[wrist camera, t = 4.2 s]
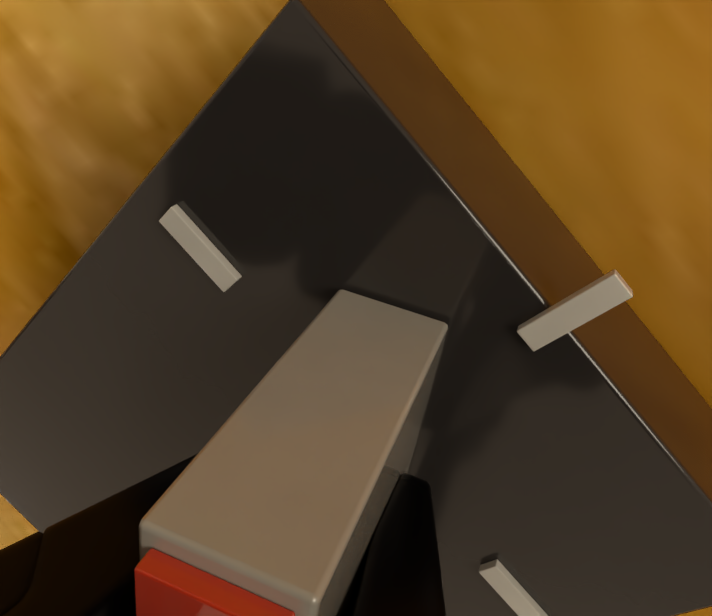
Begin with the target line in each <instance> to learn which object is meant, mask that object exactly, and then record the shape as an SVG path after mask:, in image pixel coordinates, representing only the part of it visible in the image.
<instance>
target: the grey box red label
mask: <svg viewBox="0 0 712 616" xmlns="http://www.w3.org/2000/svg"><path fill="white" fill-rule="evenodd" d="M447 331H448V325H447V323H445V322H443V321H439V320H436V319H433V318H430V317H427V316H424V315H421V314H418V313H415V312H412V311H409V310H405V309H402V308H399V307H396V306H393V305H390V304H387V303H384V302H381V301H378V300H375V299H371V298H368V297H365V296H362V295H359V294H356V293H353V292H350V291H347V290H344V289H340V290H338V292H337V293H336V294H335V295H334V296H333V297H332V298H331V300H330V301H329V302H328V303H327V304H326V305H325V307H324V308H323V309H322V310H321V311H320V312H319V314H318V315H317V316H316V317H315V318H314V319H313V321H312V322H311V323H310V324H309V325H308V326H307V327H306V329H305V330H304V331H303V332H302V333H301V334H300V336H299V337H298V338H297V339H296V340H295V341H294V343H293V344H292V345H291V346H290V347H289V348H288V350H287V351H286V352H285V353H284V354H283V355H282V357H281V358H280V359H279V360H278V361H277V362H276V363H275V365H274V366H273V367H272V368H271V369H270V370H269V372H268V373H267V374H266V375H265V376H264V377H263V379H262V380H261V381H260V382H259V383H258V384H257V386H256V387H255V388H254V389H253V390H252V391H251V393H250V394H249V395H248V396H247V397H246V398H245V399H244V401H243V402H242V403H241V404H240V405H239V406H238V408H237V409H236V410H235V411H234V412H233V413H232V415H231V416H230V417H229V418H228V419H227V420H226V422H225V423H224V424H223V425H222V426H221V427H220V428H219V430H218V431H217V432H216V433H215V434H214V435H213V437H212V438H211V439H210V440H209V441H208V442H207V444H206V445H205V446H204V447H203V448H202V449H201V451H200V452H199V453H198V454H197V455H196V456H195V458H194V459H193V460H192V461H191V462H190V463H189V464H188V466H187V467H186V468H185V469H184V470H183V471H182V473H181V474H180V475H179V476H178V477H177V478H176V480H175V481H174V482H173V483H172V484H171V485H170V487H169V488H168V489H167V490H166V491H165V492H164V494H163V495H162V496H161V497H160V498H159V499H158V500H157V502H156V503H155V504H154V505H153V506H152V507H151V509H150V510H149V511H148V512H147V513H146V514H145V516H144V517H143V518H142V519H141V521H140V524H139V554H140V562H139V563H138V564H137V566H136V567H135V569H134V584H135V608H136V616H350V613H351V610H352V607H353V603H354V600H355V596H356V593H357V589H358V586H359V582H360V579H361V575H362V572H363V568H364V565H365V562H366V558H367V555H368V551H369V548H370V544H371V541H372V538H373V535H374V533H375V530H376V528H377V525H378V523H379V521H380V519H381V517H382V514H383V512H384V510H385V508H386V506H387V504H388V501H389V499H390V497H391V495H392V493H393V490H394V488H395V486H396V484H397V482H398V479H399V477H400V476H401V475H402V474H403V473H408V470H409V467H410V463H411V460H412V456H413V453H414V449H415V445H416V442H417V438H418V435H419V431H420V428H421V424H422V420H423V417H424V413H425V410H426V406H427V402H428V399H429V395H430V392H431V388H432V385H433V381H434V377H435V374H436V370H437V367H438V363H439V360H440V356H441V352H442V349H443V345H444V342H445V338H446V335H447Z"/></svg>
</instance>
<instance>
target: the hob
mask: <svg viewBox="0 0 712 616" xmlns="http://www.w3.org/2000/svg"><path fill="white" fill-rule="evenodd" d="M340 289H344V290H347V291H350V292H353V293H356V294H359V295H362V296H365V297H368V298H371V299H375V300H378V301H381V302H384V303H387V304H390V305H393V306H396V307H399V308H402V309H405V310H409V311H412V312H415V313H418V314H421V315H424V316H427V317H430V318H433V319H436V320H439V321H443V322H445V323H447V325H448V331H447V335H446V338H445V342H444V345H443V349H442V352H441V356H440V360H439V363H438V367H437V370H436V374H435V377H434V381H433V385H432V388H431V392H430V395H429V399H428V402H427V406H426V410H425V413H424V417H423V420H422V424H421V428H420V431H419V435H418V438H417V442H416V445H415V449H414V453H413V456H412V460H411V463H410V467H409V470H408V474H410V475H413V476H415V477H418V478H420V479H423V480H425V481H427V482H428V483H429V484H430V487H431V493H432V501H433V509H434V517H435V526H436V534H437V542H438V550H439V559H440V567H441V575H442V583H443V591H444V600H445V608H446V616H675V615H679V614H684V613H688V612H692V611H696V610H700V609H704V608H708V607H712V409H711V407H710V406H709V405H708V404H707V402H706V401H705V400H704V399H703V397H702V396H701V395H700V394H699V392H698V391H697V390H696V389H695V387H694V386H693V385H692V384H691V382H690V381H689V380H688V379H687V377H686V376H685V375H684V374H683V372H682V371H681V370H680V369H679V367H678V366H677V365H676V364H675V362H674V361H673V360H672V359H671V357H670V356H669V355H668V354H667V352H666V351H665V350H664V349H663V348H662V346H661V345H660V344H659V343H658V341H657V340H656V339H655V338H654V336H653V335H652V334H651V333H650V331H649V330H648V329H647V328H646V326H645V325H644V324H643V323H642V321H641V320H640V319H639V318H638V316H637V315H636V314H635V313H634V311H633V310H632V309H631V308H630V306H629V305H628V304H627V303H626V300H628V299H630V298H631V297H633V291H632V289H631V288H630V287H629V286H628V284H627V283H626V282H625V281H624V279H623V278H622V277H621V275H620V274H619V273H618V272H617V270H615V269H614V270H612V271H610V272H609V273H607V274H605V275H604V274H603V273H602V271H601V270H600V269H599V268H598V266H597V265H596V264H595V263H594V261H593V260H592V259H591V258H590V256H589V255H588V254H587V253H586V251H585V250H584V249H583V248H582V247H581V245H580V244H579V243H578V242H577V240H576V239H575V238H574V237H573V235H572V234H571V233H570V232H569V230H568V229H567V228H566V227H565V225H564V224H563V223H562V222H561V220H560V219H559V218H558V217H557V215H556V214H555V213H554V212H553V210H552V209H551V208H550V207H549V205H548V204H547V203H546V202H545V200H544V199H543V198H542V197H541V195H540V194H539V193H538V192H537V190H536V189H535V188H534V187H533V185H532V184H531V183H530V182H529V180H528V179H527V178H526V177H525V175H524V174H523V173H522V172H521V170H520V169H519V168H518V167H517V165H516V164H515V163H514V162H513V160H512V159H511V158H510V157H509V155H508V154H507V153H506V152H505V150H504V149H503V148H502V147H501V145H500V144H499V143H498V142H497V141H496V139H495V138H494V137H493V136H492V134H491V133H490V132H489V131H488V129H487V128H486V127H485V126H484V124H483V123H482V122H481V121H480V119H479V118H478V117H477V116H476V114H475V113H474V112H473V111H472V109H471V108H470V107H469V106H468V104H467V103H466V102H465V101H464V99H463V98H462V97H461V96H460V94H459V93H458V92H457V91H456V89H455V88H454V87H453V86H452V84H451V83H450V82H449V81H448V79H447V78H446V77H445V76H444V74H443V73H442V72H441V71H440V69H439V68H438V67H437V66H436V64H435V63H434V62H433V61H432V59H431V58H430V57H429V56H428V54H427V53H426V52H425V51H424V49H423V48H422V47H421V46H420V44H419V43H418V42H417V41H416V40H415V38H414V37H413V36H412V35H411V33H410V32H409V31H408V30H407V28H406V27H405V26H404V25H403V23H402V22H401V21H400V20H399V18H398V17H397V16H396V15H395V13H394V12H393V11H392V10H391V8H390V7H389V6H388V5H387V3H386V2H385V1H384V0H289V1H288V2H287V3H286V4H285V6H284V7H283V8H282V9H281V10H280V12H279V13H278V14H277V15H276V17H275V18H274V19H273V20H272V22H271V23H270V24H269V25H268V27H267V28H266V29H265V30H264V31H263V33H262V34H261V35H260V36H259V38H258V39H257V40H256V41H255V43H254V44H253V45H252V46H251V48H250V49H249V50H248V51H247V52H246V54H245V55H244V56H243V57H242V59H241V60H240V61H239V62H238V64H237V65H236V66H235V67H234V69H233V70H232V71H231V72H230V73H229V75H228V76H227V77H226V78H225V80H224V81H223V82H222V83H221V85H220V86H219V87H218V88H217V89H216V91H215V92H214V93H213V94H212V96H211V97H210V98H209V99H208V101H207V102H206V103H205V104H204V106H203V107H202V108H201V109H200V110H199V112H198V113H197V114H196V115H195V117H194V118H193V119H192V120H191V122H190V123H189V124H188V125H187V127H186V128H185V129H184V130H183V131H182V133H181V134H180V135H179V136H178V138H177V139H176V140H175V141H174V143H173V144H172V145H171V146H170V148H169V149H168V150H167V151H166V152H165V154H164V155H163V156H162V157H161V159H160V160H159V161H158V162H157V164H156V165H155V166H154V167H153V169H152V170H151V171H150V172H149V173H148V175H147V176H146V177H145V178H144V180H143V181H142V182H141V183H140V185H139V186H138V187H137V188H136V189H135V191H134V192H133V193H132V194H131V196H130V197H129V198H128V199H127V201H126V202H125V203H124V204H123V206H122V207H121V208H120V209H119V210H118V212H117V213H116V214H115V215H114V217H113V218H112V219H111V220H110V222H109V223H108V224H107V225H106V227H105V228H104V229H103V230H102V231H101V233H100V234H99V235H98V236H97V238H96V239H95V240H94V241H93V243H92V244H91V245H90V246H89V248H88V249H87V250H86V251H85V252H84V254H83V255H82V256H81V257H80V259H79V260H78V261H77V262H76V264H75V265H74V266H73V267H72V269H71V270H70V271H69V272H68V273H67V275H66V276H65V277H64V278H63V280H62V281H61V282H60V283H59V285H58V286H57V287H56V288H55V289H54V291H53V292H52V293H51V294H50V296H49V297H48V298H47V299H46V301H45V302H44V303H43V304H42V306H41V307H40V308H39V309H38V310H37V312H36V313H35V314H34V315H33V317H32V318H31V319H30V320H29V322H28V323H27V324H26V325H25V327H24V328H23V329H22V330H21V331H20V333H19V334H18V335H17V336H16V338H15V339H14V340H13V341H12V343H11V344H10V345H9V346H8V348H7V349H6V350H5V351H4V352H3V354H2V355H1V356H0V494H1V495H2V496H3V497H4V498H5V499H6V500H7V501H8V502H9V503H10V504H11V505H12V506H14V507H15V508H16V509H17V510H18V511H19V512H20V513H21V514H22V515H23V516H24V517H25V518H26V519H27V520H28V521H29V522H30V523H31V524H32V525H33V526H34V527H35V528H36V529H37V530H38V531H40V532H42V533H43V534H44V530H45V529H46V528H47V527H49V526H51V525H53V524H55V523H57V522H59V521H61V520H63V519H65V518H67V517H70V516H72V515H74V514H76V513H78V512H80V511H82V510H84V509H86V508H88V507H90V506H92V505H94V504H96V503H98V502H100V501H102V500H104V499H106V498H108V497H110V496H112V495H114V494H116V493H118V492H120V491H122V490H124V489H126V488H128V487H130V486H132V485H135V484H137V483H139V482H141V481H143V480H145V479H147V478H149V477H151V476H153V475H155V474H157V473H159V472H161V471H163V470H165V469H167V468H169V467H171V466H173V465H175V464H177V463H179V462H181V461H183V460H185V459H187V458H189V457H191V456H193V455H195V454H197V453H199V452H200V451H201V449H202V448H203V447H204V446H205V445H206V444H207V442H208V441H209V440H210V439H211V438H212V437H213V435H214V434H215V433H216V432H217V431H218V430H219V428H220V427H221V426H222V425H223V424H224V423H225V422H226V420H227V419H228V418H229V417H230V416H231V415H232V413H233V412H234V411H235V410H236V409H237V408H238V406H239V405H240V404H241V403H242V402H243V401H244V399H245V398H246V397H247V396H248V395H249V394H250V393H251V391H252V390H253V389H254V388H255V387H256V386H257V384H258V383H259V382H260V381H261V380H262V379H263V377H264V376H265V375H266V374H267V373H268V372H269V370H270V369H271V368H272V367H273V366H274V365H275V363H276V362H277V361H278V360H279V359H280V358H281V357H282V355H283V354H284V353H285V352H286V351H287V350H288V348H289V347H290V346H291V345H292V344H293V343H294V341H295V340H296V339H297V338H298V337H299V336H300V334H301V333H302V332H303V331H304V330H305V329H306V327H307V326H308V325H309V324H310V323H311V322H312V321H313V319H314V318H315V317H316V316H317V315H318V314H319V312H320V311H321V310H322V309H323V308H324V307H325V305H326V304H327V303H328V302H329V301H330V300H331V298H332V297H333V296H334V295H335V294H336V293H337V292H338V290H340Z"/></svg>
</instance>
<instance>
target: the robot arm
mask: <svg viewBox="0 0 712 616" xmlns="http://www.w3.org/2000/svg"><path fill="white" fill-rule="evenodd" d="M197 454H198V453H197ZM197 454H195V455H193V456H191V457H189V458H187V459H185V460H183V461H181V462H179V463H177V464H175V465H173V466H171V467H169V468H167V469H165V470H163V471H161V472H159V473H157V474H155V475H153V476H151V477H149V478H147V479H145V480H143V481H141V482H139V483H137V484H135V485H132V486H130V487H128V488H126V489H124V490H122V491H120V492H118V493H116V494H114V495H112V496H110V497H108V498H106V499H104V500H102V501H100V502H98V503H96V504H94V505H92V506H90V507H88V508H86V509H84V510H82V511H80V512H78V513H76V514H74V515H72V516H70V517H67V518H65V519H63V520H61V521H59V522H57V523H55V524H53V525H51V526H49V527H47V528H46V529H45V530H44V534H43V533H42V532H40V531H39V532H36V533H34V534H32V535H30V536H28V537H26V538H24V539H22V540H20V541H18V542H16V543H14V544H12V545H10V546H8V547H6V548H4V549H1V550H0V616H136V608H135V584H134V569H135V567H136V566H137V564H138V563H139V562H140V554H139V524H140V521H141V519H142V518H143V517H144V516H145V514H146V513H147V512H148V511H149V510H150V509H151V507H152V506H153V505H154V504H155V503H156V502H157V500H158V499H159V498H160V497H161V496H162V495H163V494H164V492H165V491H166V490H167V489H168V488H169V487H170V485H171V484H172V483H173V482H174V481H175V480H176V478H177V477H178V476H179V475H180V474H181V473H182V471H183V470H184V469H185V468H186V467H187V466H188V464H189V463H190V462H191V461H192V460H193V459H194V458H195V456H196V455H197ZM350 616H446V608H445V600H444V591H443V583H442V575H441V567H440V559H439V550H438V542H437V534H436V526H435V517H434V509H433V501H432V493H431V487H430V484H429V483H428V482H427V481H425V480H423V479H420V478H418V477H415V476H413V475H410V474H408V473H403V474H402V475H401V476H400V477H399V479H398V482H397V484H396V486H395V488H394V490H393V493H392V495H391V497H390V499H389V501H388V504H387V506H386V508H385V510H384V512H383V514H382V517H381V519H380V521H379V523H378V525H377V528H376V530H375V533H374V535H373V538H372V541H371V544H370V548H369V551H368V555H367V558H366V562H365V565H364V568H363V572H362V575H361V579H360V582H359V586H358V589H357V593H356V596H355V600H354V603H353V607H352V610H351V613H350Z"/></svg>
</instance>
